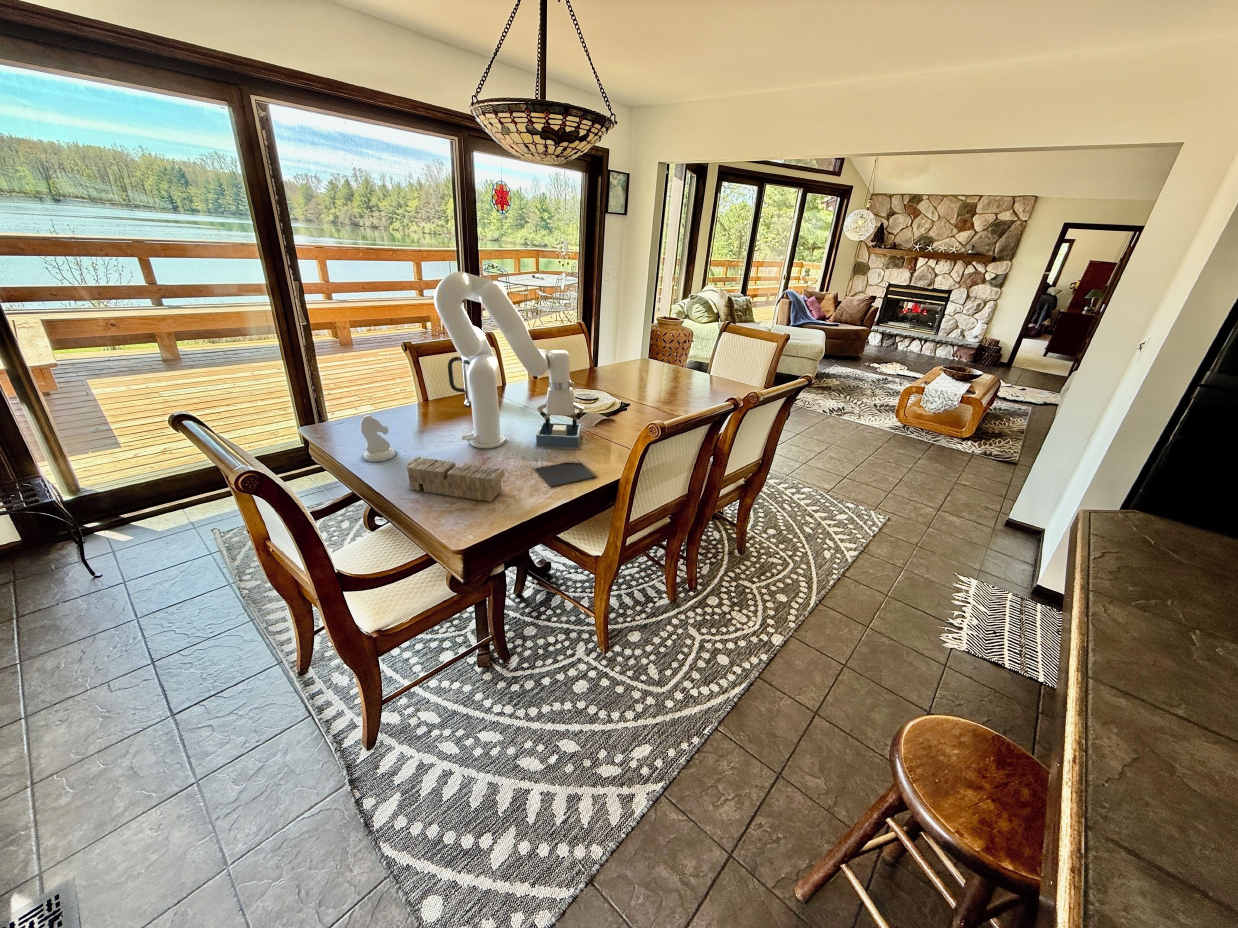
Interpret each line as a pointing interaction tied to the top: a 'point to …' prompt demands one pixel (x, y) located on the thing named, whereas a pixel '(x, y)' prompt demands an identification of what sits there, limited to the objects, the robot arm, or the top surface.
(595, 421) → the grey curved sheet
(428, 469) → the block tower
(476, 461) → the top surface
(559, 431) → the block
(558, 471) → the mat
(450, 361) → the coffee press
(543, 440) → the bin
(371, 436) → the chess piece
